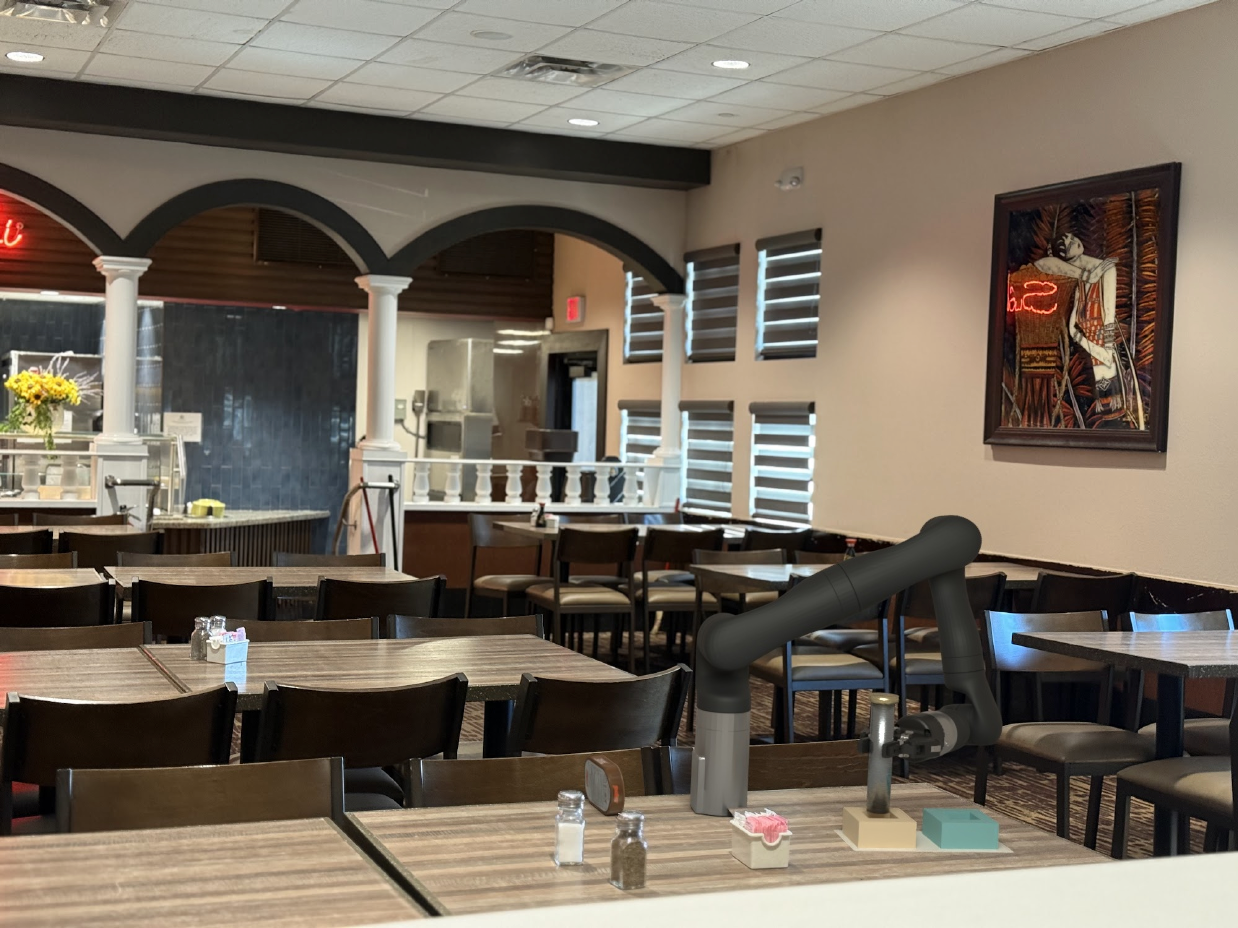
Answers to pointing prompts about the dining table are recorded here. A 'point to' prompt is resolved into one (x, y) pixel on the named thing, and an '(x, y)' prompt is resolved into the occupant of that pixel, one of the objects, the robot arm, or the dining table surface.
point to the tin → (604, 785)
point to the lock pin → (880, 752)
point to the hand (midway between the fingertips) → (872, 748)
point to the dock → (937, 835)
